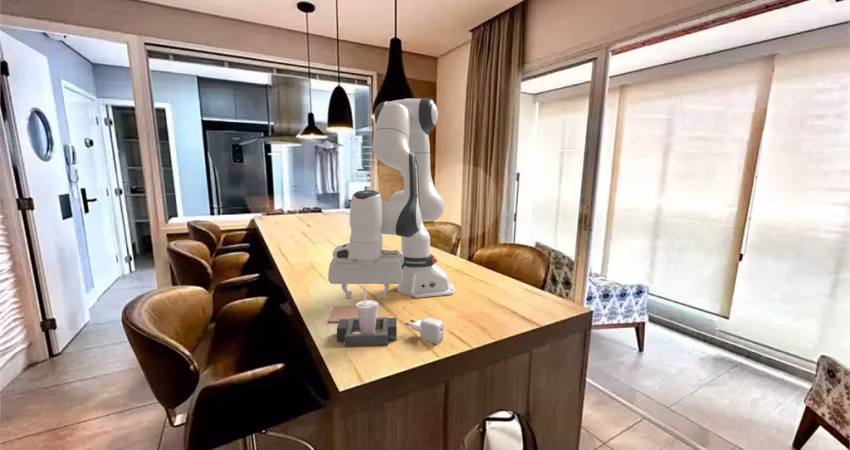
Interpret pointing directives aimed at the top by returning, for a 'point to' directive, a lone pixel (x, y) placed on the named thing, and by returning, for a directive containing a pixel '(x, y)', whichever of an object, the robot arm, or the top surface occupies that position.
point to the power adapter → (428, 329)
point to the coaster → (342, 313)
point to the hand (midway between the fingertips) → (365, 298)
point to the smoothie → (367, 314)
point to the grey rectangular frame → (366, 339)
